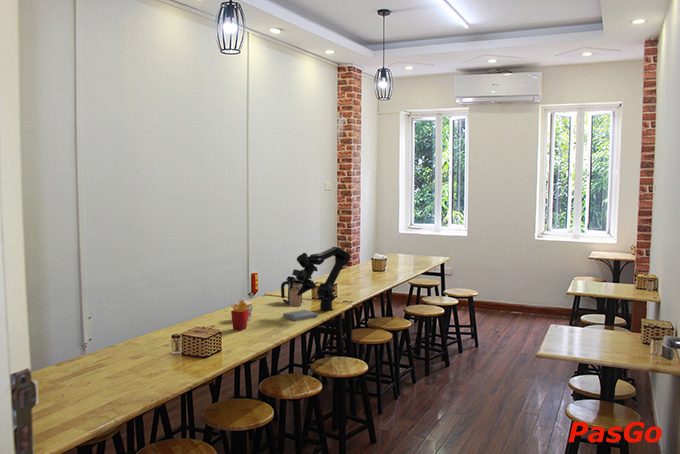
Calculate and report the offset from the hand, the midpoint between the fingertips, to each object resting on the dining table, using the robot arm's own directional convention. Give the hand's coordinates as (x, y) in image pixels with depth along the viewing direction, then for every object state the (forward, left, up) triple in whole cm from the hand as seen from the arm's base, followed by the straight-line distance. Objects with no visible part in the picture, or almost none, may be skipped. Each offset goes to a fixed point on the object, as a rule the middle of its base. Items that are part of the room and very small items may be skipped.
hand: (293, 294), depth 306 cm
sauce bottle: (-1, 0, -7) cm, 7 cm away
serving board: (-4, 0, -13) cm, 14 cm away
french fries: (+35, +3, -13) cm, 37 cm away
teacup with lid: (+23, -15, -14) cm, 30 cm away
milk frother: (-21, -31, -14) cm, 40 cm away
